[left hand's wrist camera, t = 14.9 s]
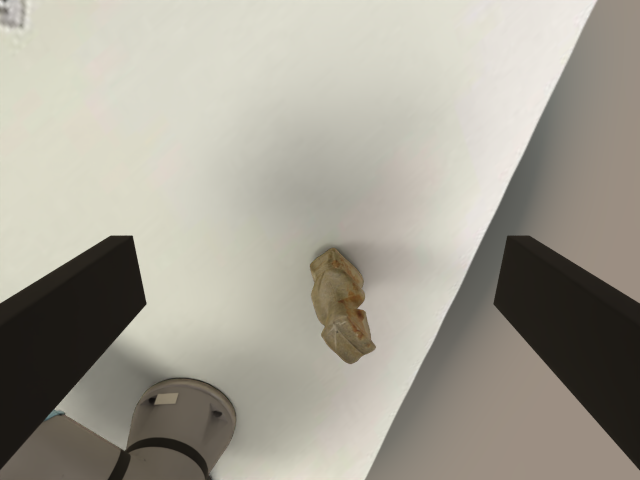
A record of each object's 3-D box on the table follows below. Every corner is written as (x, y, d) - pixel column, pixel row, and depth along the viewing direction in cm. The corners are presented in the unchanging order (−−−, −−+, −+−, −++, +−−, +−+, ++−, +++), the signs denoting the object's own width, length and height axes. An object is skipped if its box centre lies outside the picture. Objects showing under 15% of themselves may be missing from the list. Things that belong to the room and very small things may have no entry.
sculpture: (333, 298, 47) (338, 379, 33) (302, 258, 45) (294, 326, 31) (369, 276, 46) (391, 350, 32) (339, 235, 44) (348, 294, 30)
